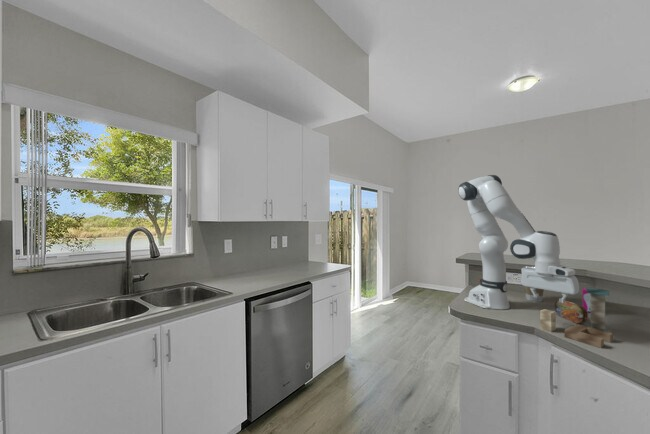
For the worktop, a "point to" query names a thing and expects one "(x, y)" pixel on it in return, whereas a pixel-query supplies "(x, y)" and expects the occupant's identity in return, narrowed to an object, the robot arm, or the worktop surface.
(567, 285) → the robot arm
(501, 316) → the worktop surface
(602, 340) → the notched board
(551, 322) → the maple block
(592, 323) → the bobbin post
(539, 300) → the coffee cup
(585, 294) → the supplement box
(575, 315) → the tin
